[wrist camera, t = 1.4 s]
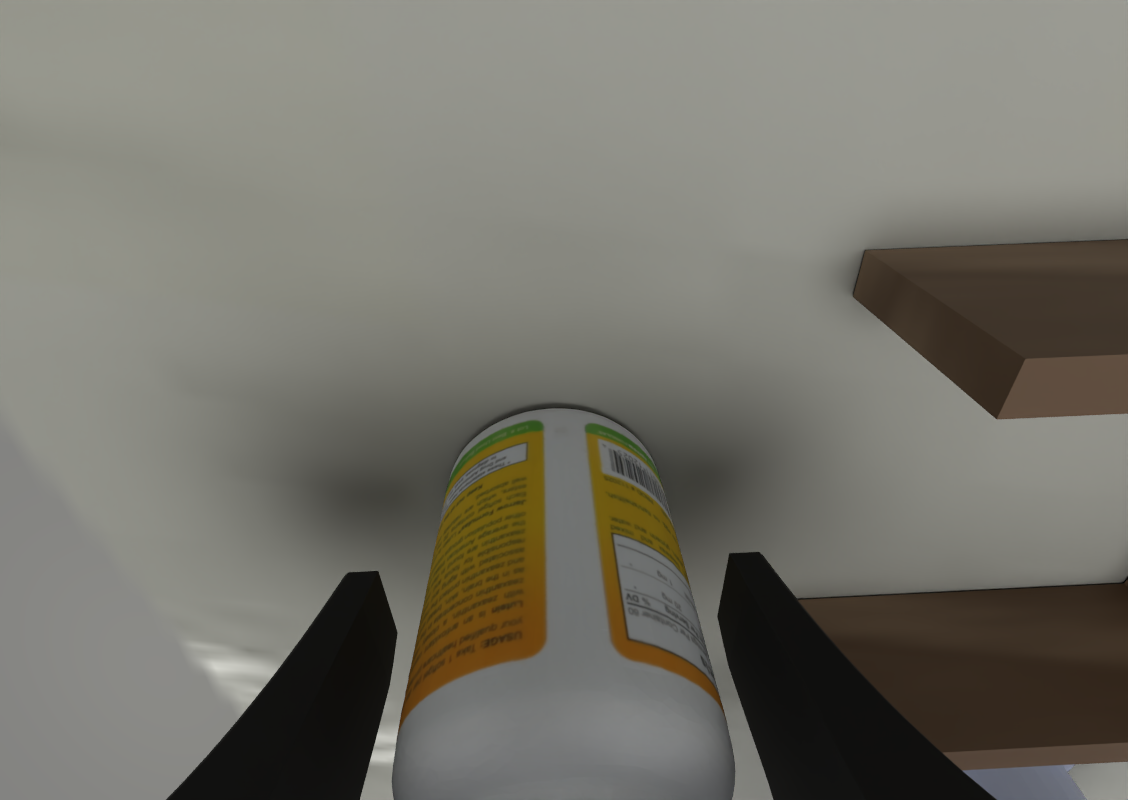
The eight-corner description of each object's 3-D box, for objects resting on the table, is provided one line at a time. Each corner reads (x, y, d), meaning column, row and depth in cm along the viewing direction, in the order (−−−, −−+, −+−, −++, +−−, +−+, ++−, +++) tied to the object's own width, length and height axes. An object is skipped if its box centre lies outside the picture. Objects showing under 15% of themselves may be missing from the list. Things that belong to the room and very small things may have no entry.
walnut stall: (1138, 602, 18) (1295, 752, 14) (766, 621, 18) (826, 777, 14) (1447, 226, 12) (1882, 321, 8) (865, 250, 11) (1025, 359, 8)
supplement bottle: (450, 555, 16) (356, 1108, 8) (447, 393, 13) (292, 1007, 5) (639, 562, 16) (739, 1092, 8) (678, 408, 13) (891, 991, 5)
